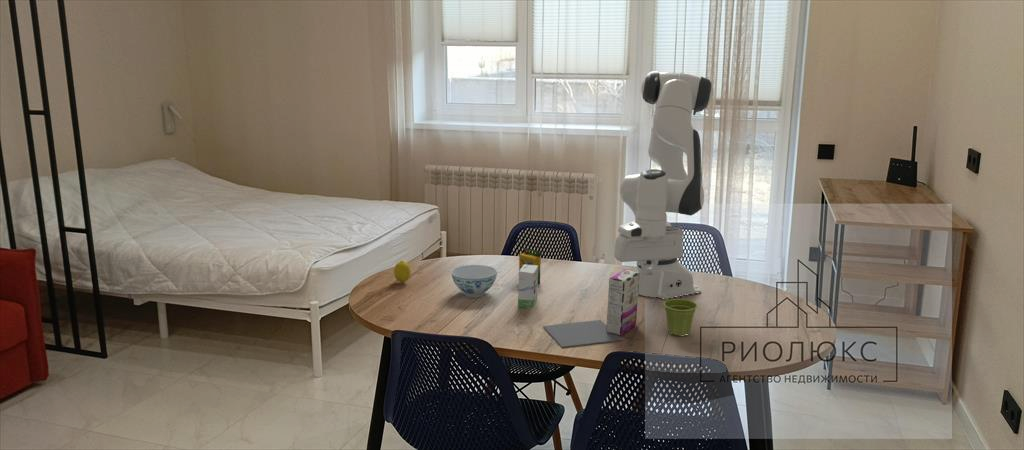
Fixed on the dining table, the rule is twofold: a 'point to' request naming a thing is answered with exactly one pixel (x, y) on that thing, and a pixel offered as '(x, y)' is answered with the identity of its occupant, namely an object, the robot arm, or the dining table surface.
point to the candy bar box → (622, 301)
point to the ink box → (528, 286)
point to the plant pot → (679, 315)
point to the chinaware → (474, 279)
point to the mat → (581, 333)
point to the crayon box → (530, 260)
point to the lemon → (402, 271)
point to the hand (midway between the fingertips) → (647, 274)
